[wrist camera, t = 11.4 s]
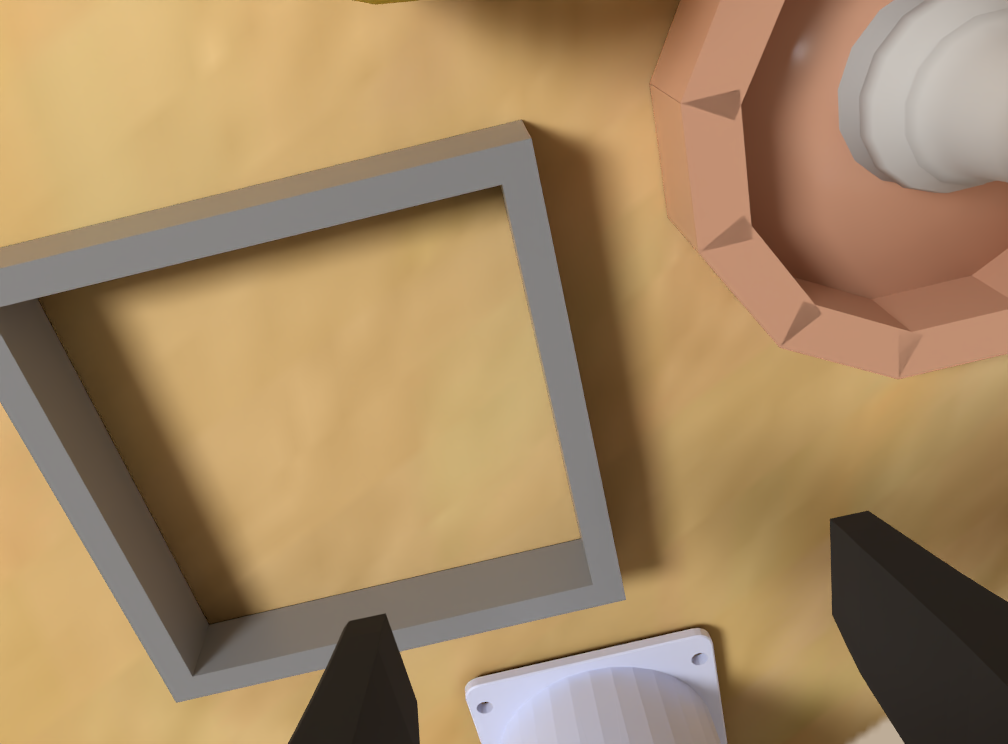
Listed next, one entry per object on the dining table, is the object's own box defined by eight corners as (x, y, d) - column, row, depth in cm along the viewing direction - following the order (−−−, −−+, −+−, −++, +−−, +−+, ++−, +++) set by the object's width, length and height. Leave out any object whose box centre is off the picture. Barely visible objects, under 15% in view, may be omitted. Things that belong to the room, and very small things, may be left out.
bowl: (1132, 267, 22) (1214, 305, 20) (688, 372, 23) (718, 421, 20) (1211, -288, 17) (1335, -324, 14) (619, -139, 17) (649, -150, 15)
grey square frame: (611, 553, 25) (626, 599, 23) (193, 649, 26) (176, 702, 24) (521, 119, 19) (531, 138, 17) (-24, 253, 20) (-68, 285, 18)
